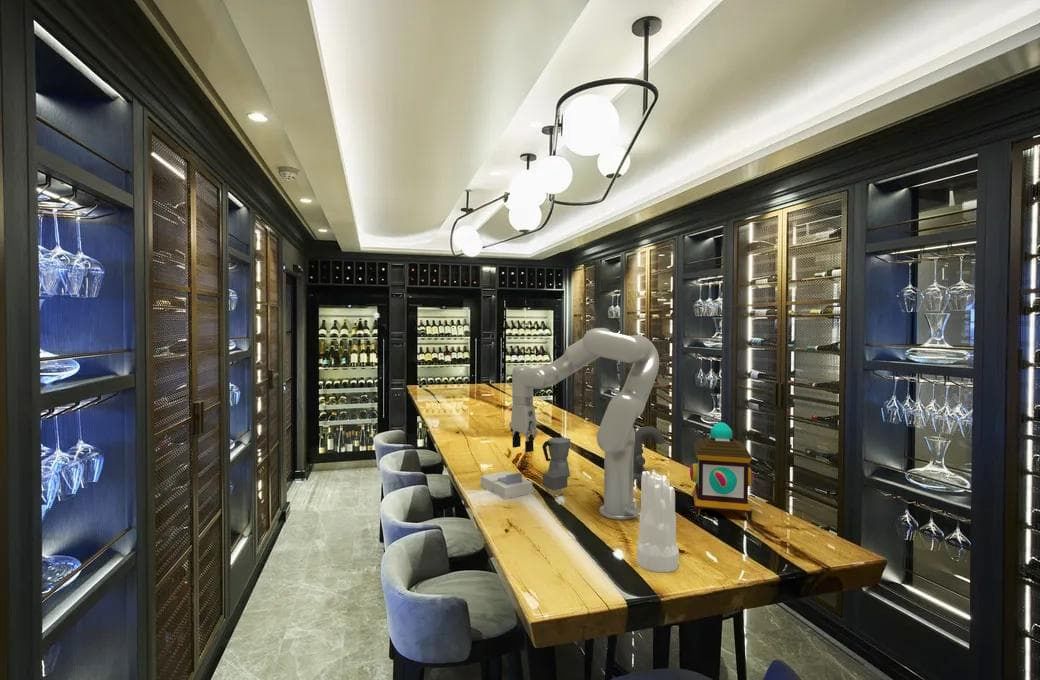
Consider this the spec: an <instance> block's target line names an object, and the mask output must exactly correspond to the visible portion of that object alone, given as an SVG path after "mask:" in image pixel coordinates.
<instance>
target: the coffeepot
mask: <svg viewBox="0 0 1040 680" xmlns="http://www.w3.org/2000/svg"><path fill="white" fill-rule="evenodd" d="M561 435H562V434H561V433H559V432H558V433H556V437H552V438H551V437H550V438H549V439H547V440H546V441H544V443H543V444H542V451H543V454H544V458H545V461H546V462H549V463H548V464H549V465H548V471H547V473H549V472H554V471H558V472H561V473H563V474H566V475H567V479H569V478H570V477H571V474H570V473H571V472H570V466H569V461H568V457H569V451H570V446H571V445H570V444H571V438H568V437H561ZM547 447H548V448H547ZM549 456H550V458H549ZM568 477H569V478H568Z"/></svg>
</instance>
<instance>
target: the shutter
mask: <svg viewBox="0 0 1040 680" xmlns="http://www.w3.org/2000/svg"><path fill="white" fill-rule="evenodd" d="M522 478H523V473H522V472H516V473H512V474H510V475H507V477H503V478H498V480H499V481H501V482H503V483H505V484H507V485H508V484H513V483H518V482H523V480H522Z"/></svg>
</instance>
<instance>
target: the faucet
mask: <svg viewBox="0 0 1040 680" xmlns="http://www.w3.org/2000/svg"><path fill="white" fill-rule="evenodd" d="M646 438H651V439H652V440H653V443H655V444H658V445H664V444H665V442H666V441H665V437H664V435H663V433H662V432H661V431H660V430H659V429H658V428H656V427H653V426H651V425H649V426H648V425H647V426H642V427H640V428H638V429H637V430H636V431H635V445H634V460H633V480H641V478H642V472H644V471H645V472H646V471H647V469H646V468H645V466H644V465H645V464H646V458H645V457H644V456H643V454H644V449H643V441H644V439H646Z"/></svg>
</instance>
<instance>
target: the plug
mask: <svg viewBox="0 0 1040 680" xmlns="http://www.w3.org/2000/svg"><path fill="white" fill-rule="evenodd" d="M542 487H545V488H547V492H548V493H549V494H551V495H553V496H552V497H554V496H555V497H557V496H556V495H559V496H561V495H560V494H562V495H563V491H562V490H563V489H565V488H568V478H567V475H566V474H563V473H561V472H558V471H554V472H549V473H548V472H544V473H542ZM548 493H547V494H548ZM549 494H548V495H549ZM551 495H550V496H551Z"/></svg>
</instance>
